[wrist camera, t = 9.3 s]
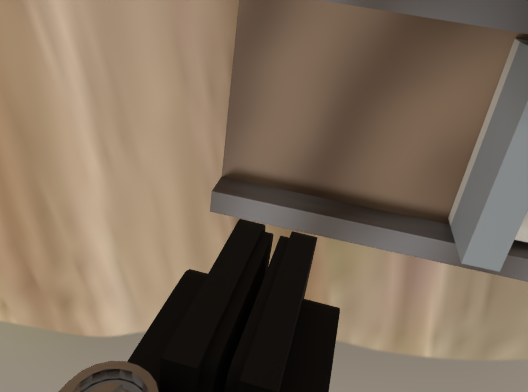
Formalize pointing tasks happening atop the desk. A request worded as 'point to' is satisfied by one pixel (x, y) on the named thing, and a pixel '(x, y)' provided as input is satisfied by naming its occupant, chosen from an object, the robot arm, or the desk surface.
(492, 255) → the white sliding panel
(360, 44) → the rail board
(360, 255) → the desk surface
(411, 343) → the desk surface
